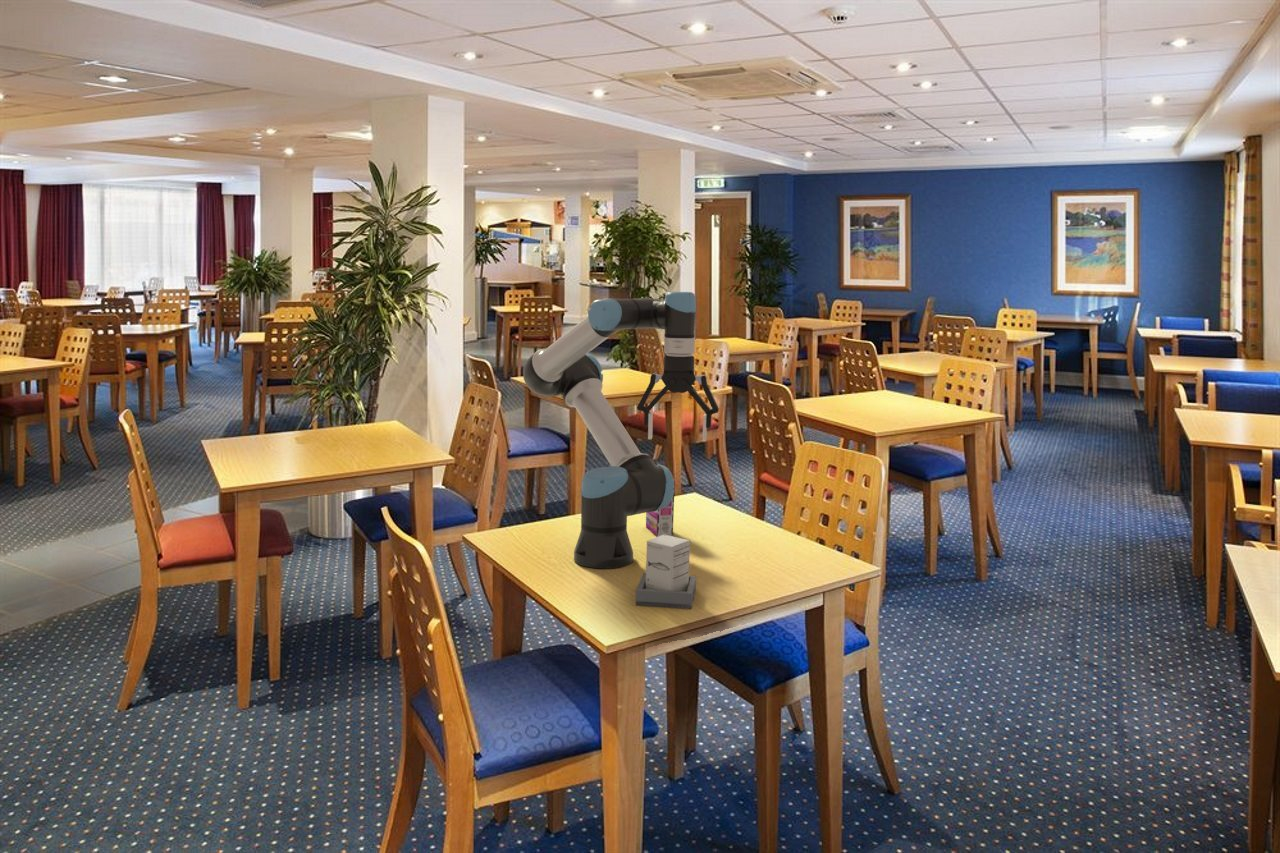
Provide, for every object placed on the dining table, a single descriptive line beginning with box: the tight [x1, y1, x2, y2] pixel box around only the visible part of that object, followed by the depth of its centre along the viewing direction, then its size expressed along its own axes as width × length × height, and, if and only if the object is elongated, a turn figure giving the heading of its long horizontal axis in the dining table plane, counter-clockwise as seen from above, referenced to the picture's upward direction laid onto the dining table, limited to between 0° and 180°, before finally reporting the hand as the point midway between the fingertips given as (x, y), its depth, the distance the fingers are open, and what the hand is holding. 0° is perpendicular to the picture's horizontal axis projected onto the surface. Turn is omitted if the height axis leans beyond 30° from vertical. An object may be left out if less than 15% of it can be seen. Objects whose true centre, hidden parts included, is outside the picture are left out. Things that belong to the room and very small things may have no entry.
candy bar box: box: [645, 479, 676, 537], centre depth 266 cm, size 11×5×16 cm, turn 17°
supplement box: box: [645, 535, 691, 592], centre depth 213 cm, size 7×7×13 cm
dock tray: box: [635, 572, 697, 610], centre depth 214 cm, size 12×12×4 cm
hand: (677, 439), depth 235 cm, fingers open, 13 cm apart
